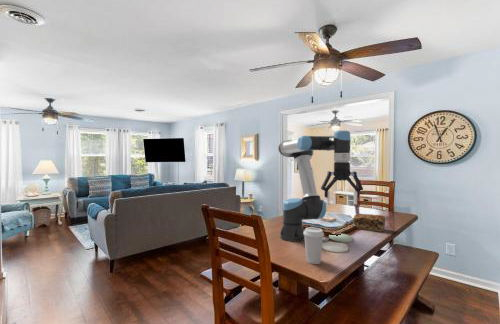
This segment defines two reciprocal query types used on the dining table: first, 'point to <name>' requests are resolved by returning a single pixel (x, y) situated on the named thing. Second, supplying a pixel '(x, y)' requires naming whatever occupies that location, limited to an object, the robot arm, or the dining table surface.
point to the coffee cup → (313, 244)
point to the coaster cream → (335, 247)
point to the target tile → (325, 239)
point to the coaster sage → (341, 238)
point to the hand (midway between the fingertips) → (341, 204)
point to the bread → (369, 222)
